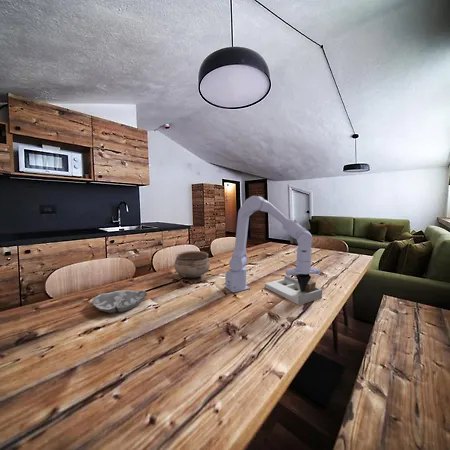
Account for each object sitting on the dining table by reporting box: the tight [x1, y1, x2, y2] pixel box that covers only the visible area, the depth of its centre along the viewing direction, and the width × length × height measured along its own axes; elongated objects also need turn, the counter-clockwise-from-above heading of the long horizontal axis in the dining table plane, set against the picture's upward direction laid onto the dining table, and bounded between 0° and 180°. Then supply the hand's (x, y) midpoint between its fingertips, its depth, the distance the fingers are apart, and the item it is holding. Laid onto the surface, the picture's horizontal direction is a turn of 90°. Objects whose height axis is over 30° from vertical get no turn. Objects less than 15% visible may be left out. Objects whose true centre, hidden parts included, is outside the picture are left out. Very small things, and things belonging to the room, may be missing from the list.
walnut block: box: [304, 279, 317, 293], centre depth 95 cm, size 4×4×4 cm
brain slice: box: [91, 289, 147, 314], centre depth 85 cm, size 20×17×3 cm
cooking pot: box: [173, 250, 211, 280], centre depth 117 cm, size 25×19×12 cm
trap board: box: [264, 274, 323, 306], centre depth 98 cm, size 14×21×4 cm, turn 31°
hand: (302, 291), depth 93 cm, fingers closed
